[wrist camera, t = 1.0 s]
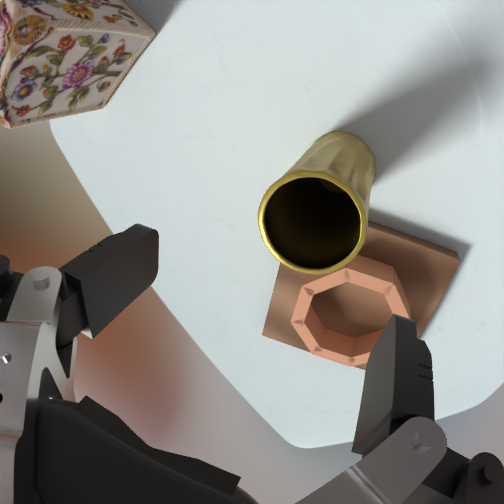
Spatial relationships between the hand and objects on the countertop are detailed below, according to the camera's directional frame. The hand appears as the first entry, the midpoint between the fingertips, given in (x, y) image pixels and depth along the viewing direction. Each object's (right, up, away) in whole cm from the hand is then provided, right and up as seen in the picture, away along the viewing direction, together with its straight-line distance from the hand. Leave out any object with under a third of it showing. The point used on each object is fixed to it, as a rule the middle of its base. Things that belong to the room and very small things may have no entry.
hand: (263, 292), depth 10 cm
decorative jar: (-17, +25, +19) cm, 35 cm away
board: (+10, -3, +21) cm, 24 cm away
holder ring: (+9, -4, +20) cm, 23 cm away
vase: (+7, +9, +17) cm, 20 cm away
